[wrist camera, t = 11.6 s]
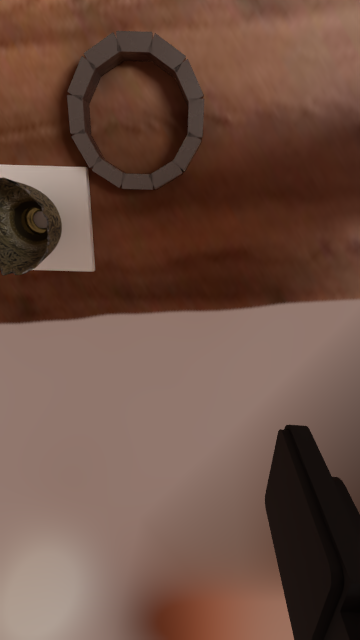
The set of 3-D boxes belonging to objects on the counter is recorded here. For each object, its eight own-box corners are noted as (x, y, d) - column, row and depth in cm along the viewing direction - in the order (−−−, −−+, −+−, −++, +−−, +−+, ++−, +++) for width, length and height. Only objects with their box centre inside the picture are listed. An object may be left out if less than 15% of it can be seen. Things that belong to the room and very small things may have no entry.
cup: (52, 271, 34) (16, 294, 27) (-10, 223, 32) (-67, 233, 25) (93, 216, 32) (66, 224, 24) (29, 161, 30) (-21, 152, 23)
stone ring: (205, 44, 27) (207, 33, 25) (199, 191, 32) (199, 191, 30) (69, 40, 27) (61, 29, 26) (81, 187, 32) (74, 187, 30)
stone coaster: (88, 167, 31) (85, 167, 30) (95, 270, 35) (93, 271, 34) (-16, 164, 31) (-21, 164, 30) (2, 267, 35) (-2, 268, 34)
